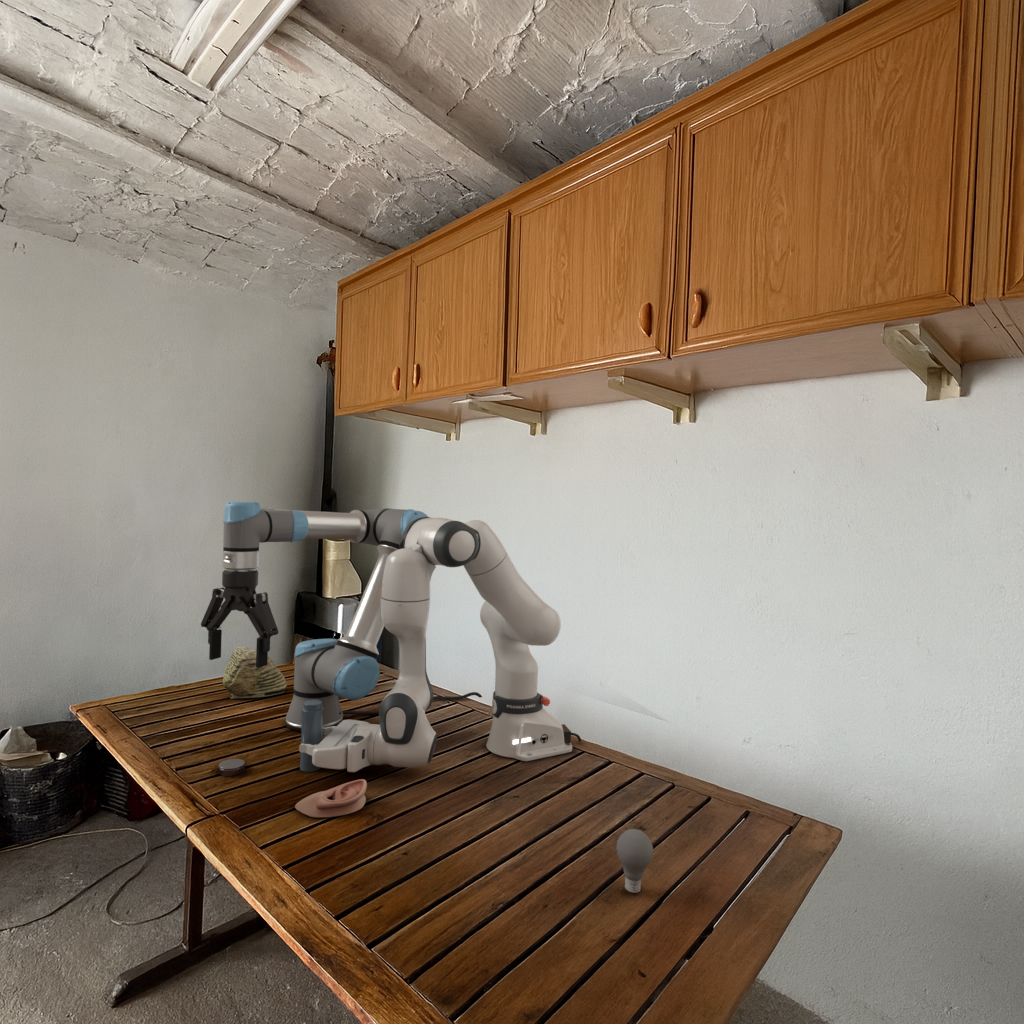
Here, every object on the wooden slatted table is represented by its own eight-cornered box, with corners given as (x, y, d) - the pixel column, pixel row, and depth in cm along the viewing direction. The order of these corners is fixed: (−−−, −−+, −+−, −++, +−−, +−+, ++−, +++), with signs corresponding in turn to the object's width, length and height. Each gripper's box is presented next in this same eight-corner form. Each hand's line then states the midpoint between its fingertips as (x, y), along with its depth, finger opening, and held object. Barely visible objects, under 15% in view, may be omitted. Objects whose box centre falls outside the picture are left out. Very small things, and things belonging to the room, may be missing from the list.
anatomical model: (287, 793, 126) (316, 770, 137) (286, 813, 126) (315, 788, 137) (349, 803, 123) (373, 778, 134) (348, 823, 123) (373, 796, 134)
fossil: (218, 695, 195) (220, 647, 195) (278, 685, 208) (279, 640, 207) (228, 703, 189) (230, 653, 188) (289, 692, 201) (290, 645, 201)
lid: (237, 777, 141) (237, 769, 141) (213, 775, 142) (213, 767, 141) (249, 766, 147) (249, 759, 147) (226, 765, 147) (226, 757, 147)
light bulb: (610, 879, 108) (613, 822, 108) (644, 879, 109) (647, 822, 109) (619, 902, 102) (622, 840, 102) (655, 901, 103) (658, 840, 103)
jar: (298, 764, 149) (301, 700, 149) (319, 762, 151) (322, 698, 151) (301, 773, 145) (303, 706, 144) (322, 770, 147) (325, 704, 146)
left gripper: (185, 566, 145) (183, 659, 145) (272, 575, 136) (269, 673, 136) (211, 563, 152) (209, 651, 152) (296, 572, 143) (293, 665, 143)
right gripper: (380, 715, 157) (326, 711, 158) (352, 747, 136) (290, 742, 138) (379, 740, 157) (325, 736, 158) (351, 776, 137) (289, 770, 138)
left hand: (238, 662), depth 144 cm, fingers open, 13 cm apart
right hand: (308, 739), depth 148 cm, fingers open, 8 cm apart
